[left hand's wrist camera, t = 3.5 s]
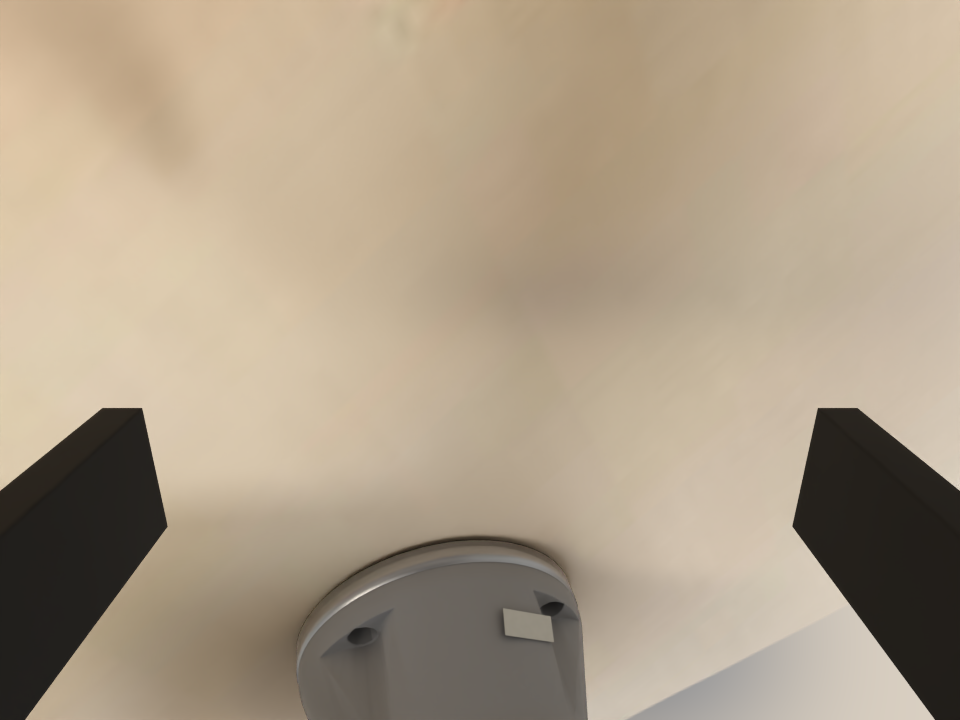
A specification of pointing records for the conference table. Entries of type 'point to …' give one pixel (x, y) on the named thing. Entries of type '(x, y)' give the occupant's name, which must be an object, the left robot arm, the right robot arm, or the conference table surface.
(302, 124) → the conference table surface
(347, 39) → the conference table surface
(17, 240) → the conference table surface
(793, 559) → the conference table surface
